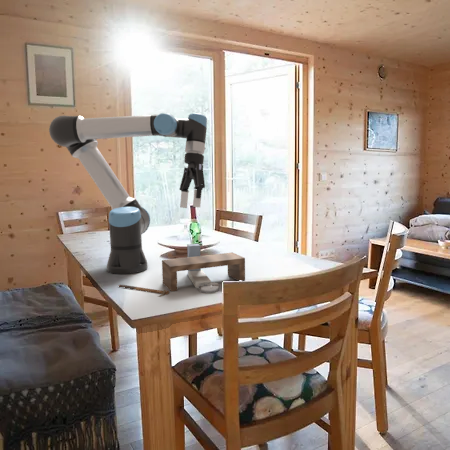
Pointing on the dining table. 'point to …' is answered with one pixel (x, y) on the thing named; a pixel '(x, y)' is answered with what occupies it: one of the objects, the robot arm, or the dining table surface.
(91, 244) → the dining table surface
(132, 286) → the tomahawk
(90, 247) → the dining table surface
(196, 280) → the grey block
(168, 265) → the bench
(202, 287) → the disc
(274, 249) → the dining table surface
